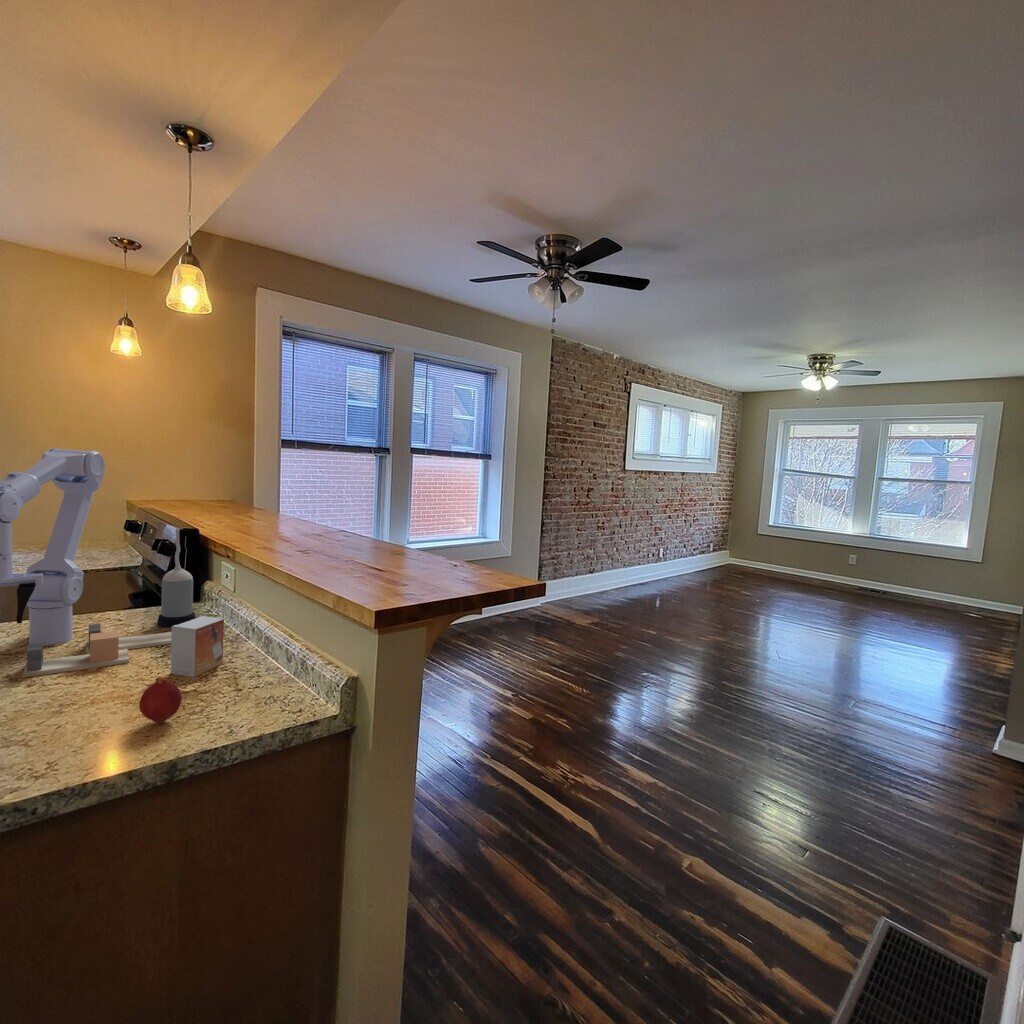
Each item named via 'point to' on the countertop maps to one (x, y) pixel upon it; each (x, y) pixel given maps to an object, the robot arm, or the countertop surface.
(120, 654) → the near strip
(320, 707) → the countertop surface
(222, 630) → the small box
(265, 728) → the countertop surface
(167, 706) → the onion
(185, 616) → the humidifier
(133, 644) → the far strip
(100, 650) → the block
